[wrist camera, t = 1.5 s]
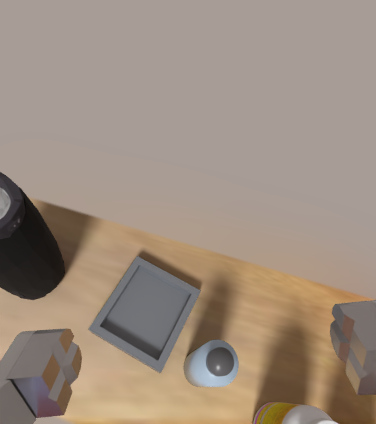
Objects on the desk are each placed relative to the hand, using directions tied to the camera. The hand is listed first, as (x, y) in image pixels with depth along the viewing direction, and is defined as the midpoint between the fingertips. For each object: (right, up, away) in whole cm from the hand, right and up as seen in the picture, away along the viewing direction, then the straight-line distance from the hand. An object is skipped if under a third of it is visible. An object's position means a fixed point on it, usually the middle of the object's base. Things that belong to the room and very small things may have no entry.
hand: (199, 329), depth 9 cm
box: (-6, -11, +34) cm, 36 cm away
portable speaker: (-23, -6, +34) cm, 41 cm away
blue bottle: (+1, -18, +31) cm, 35 cm away
